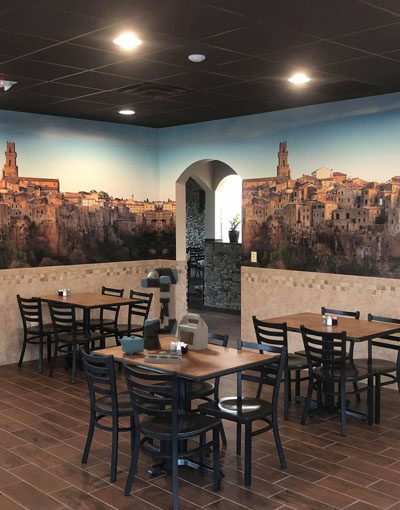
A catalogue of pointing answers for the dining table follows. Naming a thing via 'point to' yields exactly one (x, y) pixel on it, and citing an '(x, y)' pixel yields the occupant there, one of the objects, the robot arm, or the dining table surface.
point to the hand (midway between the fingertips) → (164, 326)
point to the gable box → (198, 329)
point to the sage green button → (162, 353)
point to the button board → (163, 359)
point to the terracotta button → (152, 352)
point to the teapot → (132, 345)
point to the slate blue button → (173, 353)
